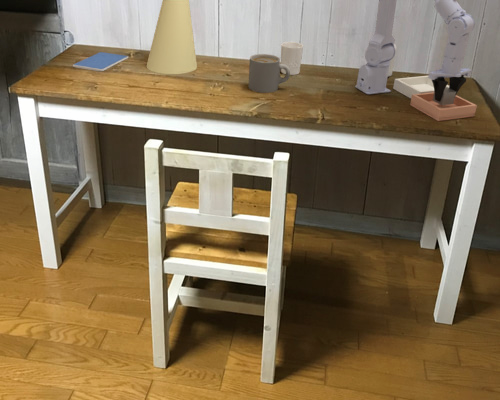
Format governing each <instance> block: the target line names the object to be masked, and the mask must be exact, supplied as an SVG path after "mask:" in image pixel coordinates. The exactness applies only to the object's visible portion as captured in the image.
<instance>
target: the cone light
mask: <svg viewBox="0 0 500 400" xmlns="http://www.w3.org/2000/svg"><path fill="white" fill-rule="evenodd" d="M190 6H191V5H190V0H162V1H161V6H160V9H159V14H158V19H157V22H156V26H155V30H154V34H153V38H152V42H151V46H150V50H149V55H148V59H147V62H146V68H147V70H148V71H150V72H152V73H157V74H160V75H161V74H162V75H183V74H188V73H191V72H194V71H195V70H197V67H198V64H197V56H196V48H195V41H194V40H195V39H194V31H193V24H192V15H191V7H190Z"/></svg>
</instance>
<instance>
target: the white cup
mask: <svg viewBox="0 0 500 400" xmlns="http://www.w3.org/2000/svg"><path fill="white" fill-rule="evenodd" d="M303 51H304V44H302V43H300V42H295V41H284V42H282V43H281V44H280V64H284V65H287V66H288V67H289V69H290V76H295V75H299V73H300V71H301V66H302V65H301V63H302V57H303ZM280 72H281V73H282V74H284V75H286V71H285V69H281V70H280ZM281 73H280V74H281Z"/></svg>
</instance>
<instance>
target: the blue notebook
mask: <svg viewBox="0 0 500 400" xmlns="http://www.w3.org/2000/svg"><path fill="white" fill-rule="evenodd" d="M127 59H129V55H123V54H117V53H112V52H111V53H109V52H102V51H100V52H97V53H96V54H93V55H91V56H89V57H86V58H85V59H82V60H80V61H78V62H76V63H74V64H72V67H73V68H76V69H83V70H89V71H95V72H104V71H106V70H108V69H109V68H112V67H114V66H116V65H118V64H119V63H122V62H123V61H126V60H127Z"/></svg>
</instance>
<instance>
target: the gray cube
mask: <svg viewBox="0 0 500 400" xmlns="http://www.w3.org/2000/svg"><path fill="white" fill-rule="evenodd" d="M455 95H457V94H456V91H454V90H452V89H450V88H448V87H445V90H444V92H443V96H442V99H441V101H437V100H435V93H434V96H433V101H434V102H436V103H438V104H440V105H449V104H453V103H454V99H455Z"/></svg>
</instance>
